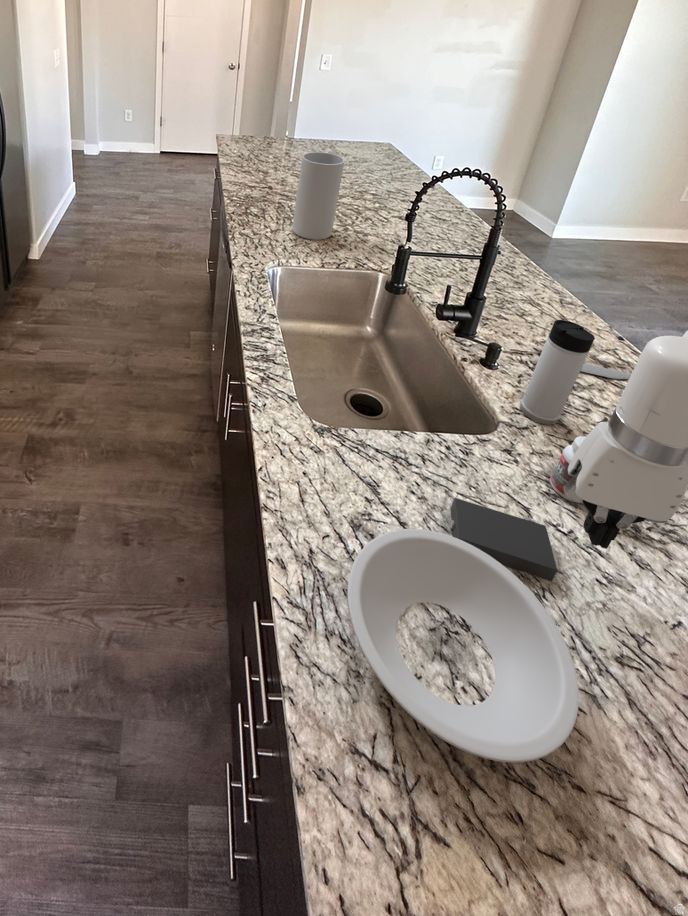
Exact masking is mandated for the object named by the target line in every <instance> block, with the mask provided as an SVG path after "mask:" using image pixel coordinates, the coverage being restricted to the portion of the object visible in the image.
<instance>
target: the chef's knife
mask: <svg viewBox="0 0 688 916" xmlns="http://www.w3.org/2000/svg"><path fill="white" fill-rule="evenodd" d="M536 355H537V356H538V357H540V355H541V352H537V353H536ZM580 372H582V373H586V374H591V375H596V376H600V377H604V378H608V379H615V380H629V379H630V377H631V374H630V373H626V372H622V371H618V370H614V369H610V368H606V367H602V366H598V365H593V364H589V363H586V362H584V364H583V366H582V368H581V371H580Z"/></svg>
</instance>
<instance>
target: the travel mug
mask: <svg viewBox="0 0 688 916" xmlns="http://www.w3.org/2000/svg"><path fill="white" fill-rule="evenodd" d="M595 339H596V336H595V335H594V334H593V333H591V332H590V331H588V330H586V329H585V327H584V326H582V325H581V324H577V323H575V322H573V321H569V320H565V319H556V320H554V322H553V324H552V327H551V329H550V332H549V334H548V336H547V338H546V340H545V343H544V345H543V348H542V350H541V352H540V353H541V355H540V357H539V356H538V357H539V358H538V360H537V362H536V364H535V367H534V370H533V371H532V375H531V377H530V379H529V382H528V384H527V387H526V389H525V392H524V394H523V396H522V399H521V401H520V404H519V408H520V411H521V412H522V413H523V414H524V415H525V416H526V417H527V418H529V419H530V420H532V421H534V422H536V423H538V424H542V425H547V426H549V425H554V424H557V422H559V419H560V417H561V414H562V412H563V410H564V408H565V406H566V403H567V401H568V399H569V397H570V396H571V395H570V394H571V392H572V390H573V388H574V386H575V384H576V381H577V379H578V377H579V375H580V373H581V372H582V371H581V368H582V366H583V364H584V363H586V360H587V358H588V355H589V354H590V351H591V348H592V345H593V343H594V341H595Z"/></svg>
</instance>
